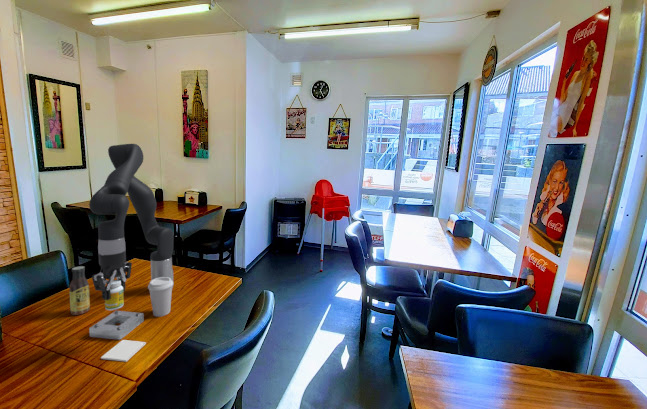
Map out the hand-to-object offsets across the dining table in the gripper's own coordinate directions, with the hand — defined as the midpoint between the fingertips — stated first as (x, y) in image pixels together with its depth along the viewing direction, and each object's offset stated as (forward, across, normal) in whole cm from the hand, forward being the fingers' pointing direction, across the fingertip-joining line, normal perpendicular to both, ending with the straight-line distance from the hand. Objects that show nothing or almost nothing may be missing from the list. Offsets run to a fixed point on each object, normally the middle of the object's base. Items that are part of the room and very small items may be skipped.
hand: (114, 295), depth 95 cm
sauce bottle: (+18, -14, -30) cm, 38 cm away
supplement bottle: (+5, 0, 0) cm, 5 cm away
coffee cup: (+18, -20, +3) cm, 27 cm away
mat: (+18, +4, +7) cm, 20 cm away
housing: (+18, -7, -6) cm, 20 cm away
